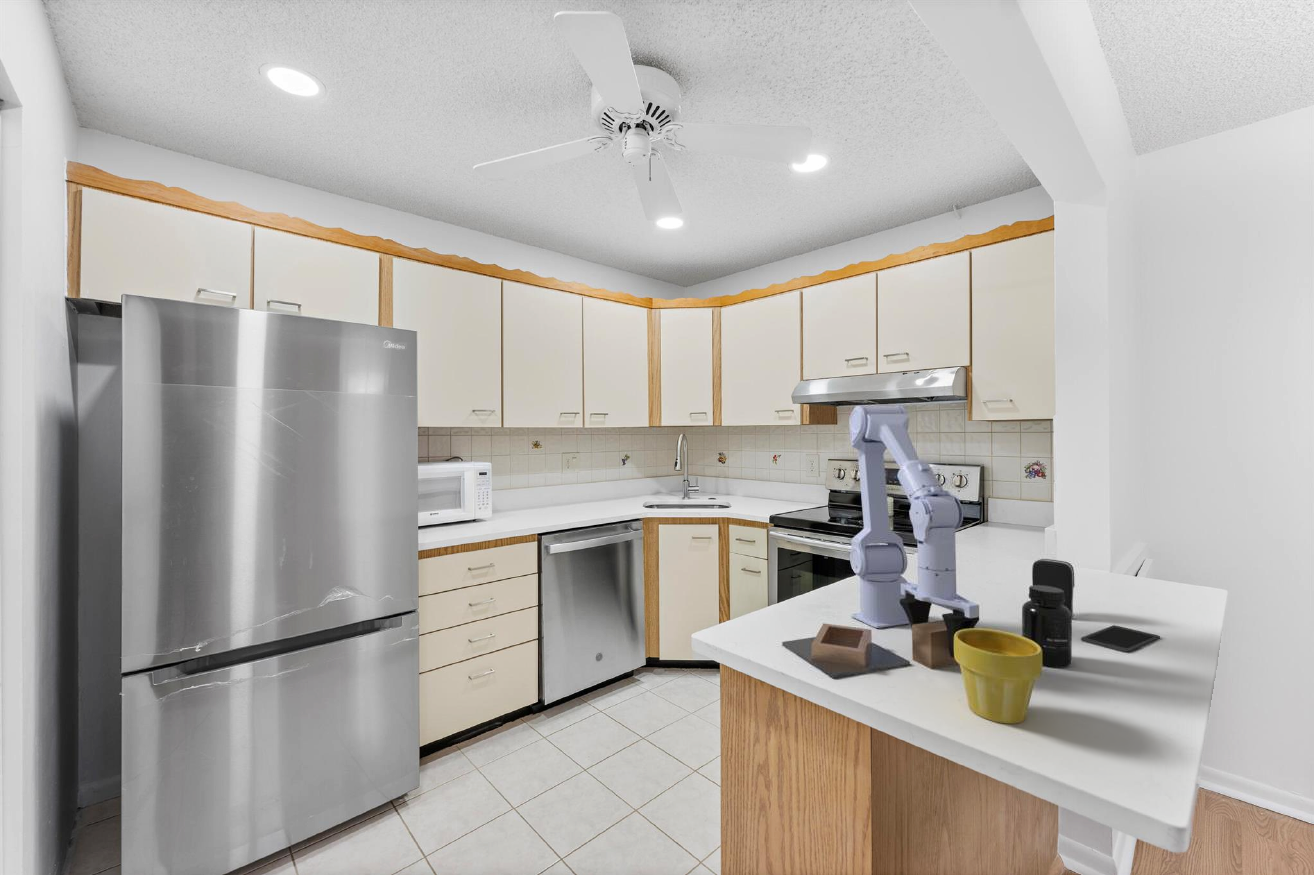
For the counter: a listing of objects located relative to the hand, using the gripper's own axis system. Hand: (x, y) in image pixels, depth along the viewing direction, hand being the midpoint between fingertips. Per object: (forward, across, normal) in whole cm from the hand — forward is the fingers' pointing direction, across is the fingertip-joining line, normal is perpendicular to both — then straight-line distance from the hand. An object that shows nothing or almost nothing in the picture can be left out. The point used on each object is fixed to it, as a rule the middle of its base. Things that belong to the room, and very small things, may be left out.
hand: (938, 648), depth 92 cm
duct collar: (+2, -8, -13) cm, 15 cm away
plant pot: (+2, +16, -6) cm, 17 cm away
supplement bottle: (+2, +6, +17) cm, 18 cm away
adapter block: (+2, 0, 0) cm, 2 cm away
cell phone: (+3, +4, +38) cm, 39 cm away
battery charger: (+2, -10, +41) cm, 42 cm away
